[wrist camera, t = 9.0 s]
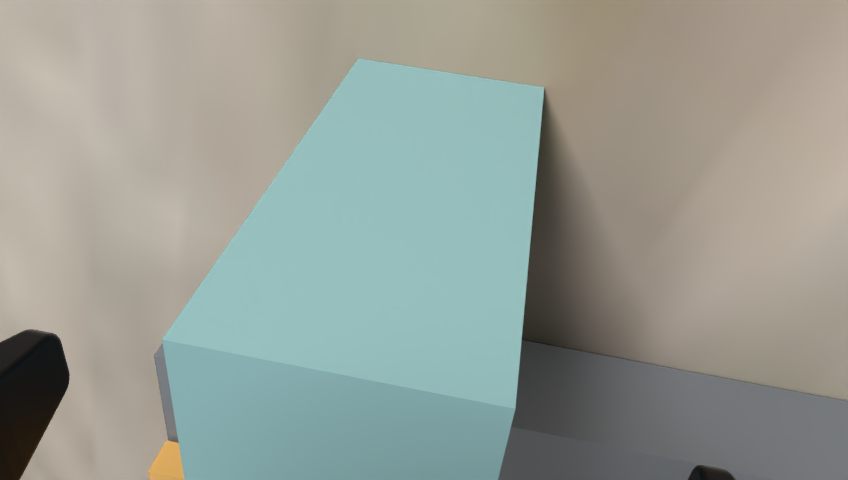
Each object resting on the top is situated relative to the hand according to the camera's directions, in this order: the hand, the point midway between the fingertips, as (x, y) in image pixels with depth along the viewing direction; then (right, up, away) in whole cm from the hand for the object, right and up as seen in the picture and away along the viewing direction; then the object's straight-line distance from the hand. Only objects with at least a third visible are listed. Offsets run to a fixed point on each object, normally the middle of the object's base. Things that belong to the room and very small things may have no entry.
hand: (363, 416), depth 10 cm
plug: (+1, +4, +6) cm, 8 cm away
